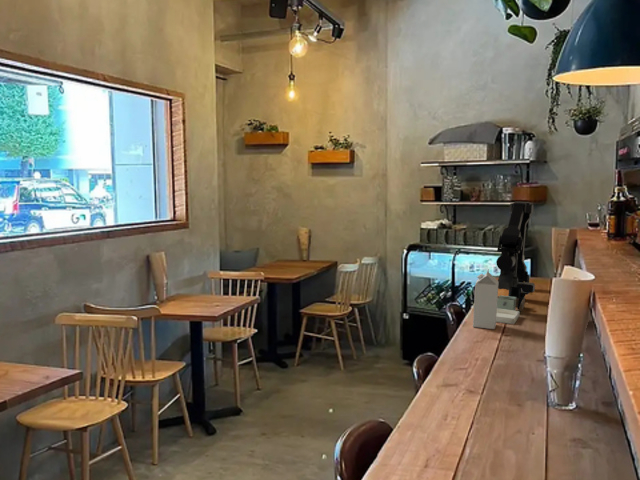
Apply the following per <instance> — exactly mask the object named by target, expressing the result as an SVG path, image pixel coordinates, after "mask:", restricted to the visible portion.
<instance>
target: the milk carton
mask: <svg viewBox="0 0 640 480" xmlns="http://www.w3.org/2000/svg"><path fill="white" fill-rule="evenodd" d="M489 270H490V268H488V269H487V271H486V273H485V274H483V273H480V274H479V275H477V276H476V278H477V280H476V282H475V286H474V299H473V301H474V302H473V303H474V304H473V317H472V318H473V319H472V328H479V329H480V328H482V329H488V330H495V329H496V325H497V322H496V315H497V299H498V296H499V289H498V284H499V282H498V279H496V277H494V276H493V275H492V274H491V272H489Z"/></svg>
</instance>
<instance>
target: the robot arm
mask: <svg viewBox="0 0 640 480" xmlns="http://www.w3.org/2000/svg"><path fill="white" fill-rule="evenodd" d="M509 213H510V217H509V221H508V225H507V227H506V228H504V229H503V230H502V233H501V235H500V236H499V237H498V238H499V240H498V244H497V250H496V251H497V252H499V253H500V256H498V257H497V258H496V262H495V264H496V267H497V268H498V269H499V270H500V273H499V275H498V278H497V281H498V282H499V284H498V290H506V291H508V295H507V296H510V297H516V299H519V301H518V307H517V310H518V309H519V308H520V305H521V303H522V301H523V299H526V295H529V294H531V293H534V292H535V290H536V289H535V288H536V285H535V284H536V283H534V282H530V274H529V271H527V268H528V267H527V265H526V263H525V260H524V261H523V257H524V258H525V244H526V243H525V242H526V232H527V231H526V230H527V224H528V223H529V221H531V219H532V215H533V213H534V204H532V203H531V201H514V202H512V203H510V204H509Z"/></svg>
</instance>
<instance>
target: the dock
mask: <svg viewBox="0 0 640 480" xmlns="http://www.w3.org/2000/svg"><path fill="white" fill-rule="evenodd" d="M499 296H500V295H498V297H499ZM525 299H526V298H525ZM525 299H523V301H522V303H521V305H520V308H519V309H518V301H519V299H516V308H517V311H520V312H522V311H523V310H524V309H525V305H526V303H525V302H526V301H525Z"/></svg>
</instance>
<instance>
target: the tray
mask: <svg viewBox="0 0 640 480" xmlns="http://www.w3.org/2000/svg"><path fill="white" fill-rule="evenodd" d="M520 313H521V311H519V310H515V311H514V310H506V309H498V308H497V315H496V323H501V324H506V325H507V324H508V325H515V323H516V322H517V321H518V320H519V318H520Z"/></svg>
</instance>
